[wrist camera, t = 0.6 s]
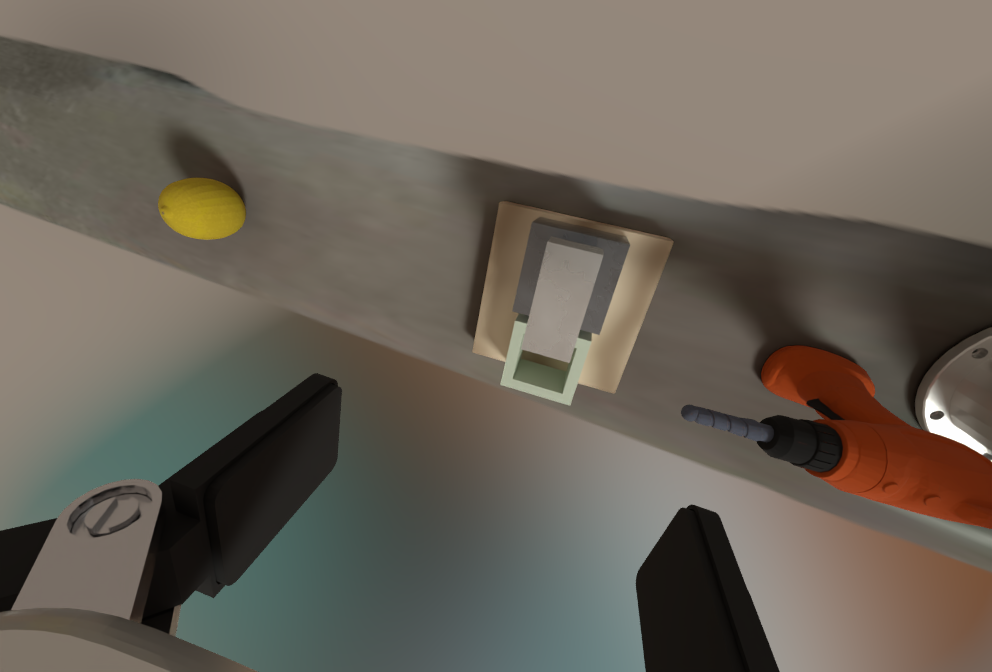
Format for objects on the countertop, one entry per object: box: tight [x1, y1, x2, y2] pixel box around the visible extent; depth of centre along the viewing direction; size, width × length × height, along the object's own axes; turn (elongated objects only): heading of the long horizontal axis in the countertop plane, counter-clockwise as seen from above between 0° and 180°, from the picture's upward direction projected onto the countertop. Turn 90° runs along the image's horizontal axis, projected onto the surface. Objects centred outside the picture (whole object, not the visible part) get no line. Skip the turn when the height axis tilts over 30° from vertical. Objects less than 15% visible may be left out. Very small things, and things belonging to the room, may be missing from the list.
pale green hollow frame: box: [500, 313, 592, 405], centre depth 33 cm, size 6×6×4 cm
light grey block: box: [521, 237, 604, 363], centre depth 27 cm, size 7×3×10 cm, turn 169°
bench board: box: [472, 201, 674, 394], centre depth 34 cm, size 14×14×2 cm
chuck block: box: [512, 217, 630, 335], centre depth 30 cm, size 7×7×4 cm
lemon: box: [158, 178, 246, 239], centre depth 36 cm, size 6×6×8 cm
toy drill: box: [681, 345, 992, 529], centre depth 26 cm, size 5×19×15 cm, turn 77°
